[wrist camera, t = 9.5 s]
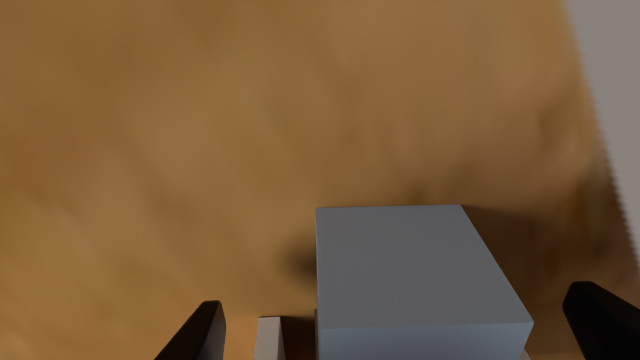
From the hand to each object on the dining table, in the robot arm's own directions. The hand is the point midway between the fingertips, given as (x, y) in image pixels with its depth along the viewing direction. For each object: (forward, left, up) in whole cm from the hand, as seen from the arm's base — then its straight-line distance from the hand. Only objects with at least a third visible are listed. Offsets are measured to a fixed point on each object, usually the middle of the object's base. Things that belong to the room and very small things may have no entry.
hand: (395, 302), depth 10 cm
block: (0, 0, -2) cm, 2 cm away
